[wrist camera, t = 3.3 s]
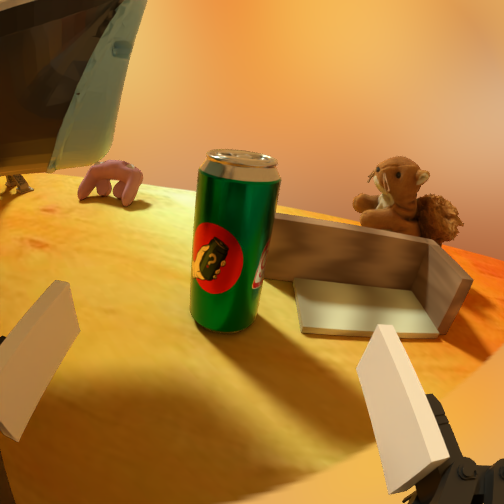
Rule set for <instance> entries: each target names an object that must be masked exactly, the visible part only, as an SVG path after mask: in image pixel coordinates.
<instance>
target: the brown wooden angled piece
mask: <svg viewBox="0 0 504 504" xmlns="http://www.w3.org/2000/svg"><path fill="white" fill-rule="evenodd" d="M264 278H267V279H275V280H283V281H292V282H293V287H294V293H295V299H296V305H297V310H298V316H299V322H300V328H301V332H302V333H314V334H327V335H343V336H361V337H372V335H373V333H374V331H375V329H376V326H377V324H383V325H393V327H394V329H395V331H396V333H397V335H398V337H399V338H437V337H438V335H446V333H447V331H448V330H449V328H450V326H451V324H452V322H453V321H454V319H455V317H456V315H457V313H458V311H459V309H460V307H461V305H462V303H463V301H464V299H465V297H466V295H467V293H468V291H469V289H470V287H471V285H472V283H473V281H474V280H473V279H472V278H471V277H470V276H469V275H468V274H467V273H466V272H465V271H464V270H463V269H462V268H461V267H460V265H459V264H458V263H457V262H456V261H455V260H453V259H452V258H451V257H450V256H449V255H448V254H447V253H446V252H445V251H444V250H443V249H442V248H441V247H440V246H439V245H438V244H437V243H436V242H435V241H434V240H432V239H427V238H422V237H417V236H411V235H406V234H401V233H396V232H390V231H385V230H379V229H374V228H368V227H363V226H357V225H351V224H345V223H339V222H333V221H327V220H321V219H314V218H308V217H301V216H295V215H288V214H281V213H275V219H274V224H273V230H272V235H271V241H270V246H269V252H268V257H267V263H266V268H265V274H264Z"/></svg>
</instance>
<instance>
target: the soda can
mask: <svg viewBox="0 0 504 504" xmlns="http://www.w3.org/2000/svg"><path fill="white" fill-rule="evenodd" d="M206 157H207V158H206V160H205V161H204V162H203V164H202V165H201V166H200V167H199V170H198V179H197V190H196V202H195V216H194V230H193V246H192V265H191V287H190V313H191V315H192V317H193V318H194V319H195V320H196V321H197V322H198V323H199V324H200V325H201V326H203V327H204V328H206V329H207V330H210V331H212V332H216V333H222V334H229V333H235V332H238V331H241V330H243V329H245V328H247V327H248V326H250V325H251V324H252V323H253V322H254V321H255V319H256V316H257V311H258V306H259V300H260V295H261V290H262V284H263V279H264V274H265V268H266V263H267V257H268V252H269V246H270V241H271V235H272V230H273V224H274V219H275V213H276V207H277V202H278V196H279V190H280V185H281V177H280V175H279V173H278V170H277V168H276V166H277V164H278V161H277V160H276V159H275V158H273V157H270V156H267V155H264V154H260V153H255V152H249V151H242V150H232V149H216V150H210V151H207V153H206Z"/></svg>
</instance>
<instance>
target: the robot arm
mask: <svg viewBox="0 0 504 504" xmlns="http://www.w3.org/2000/svg"><path fill="white" fill-rule="evenodd" d="M146 3H147V0H0V176H6V175H17V174H29V173H43V172H46V173H53V172H55V170H59V169H66V168H74V167H82V166H89V165H92V164H94V163H96V162H98V161H99V160H101V159H102V158H103V157H104V156H105V155H106V154H107V153H108V151H109V150H110V148H111V146H112V142H113V137H114V132H115V125H116V120H117V115H118V110H119V105H120V99H121V94H122V90H123V85H124V81H125V77H126V72H127V67H128V64H129V59H130V55H131V52H132V49H133V45H134V41H135V38H136V34H137V31H138V28H139V25H140V22H141V19H142V16H143V13H144V10H145V6H146ZM79 332H80V328H79V325H78V321H77V316H76V312H75V308H74V304H73V299H72V294H71V289H70V284H69V283H68V282H63V281H59V280H55V281H54V282H53V283H52V284H51V285H50V286H49V287H48V289H47V290H46V291H45V292H44V293H43V294H42V295H41V296H40V298H39V299H38V300H37V301H36V302H35V303H34V304H33V306H32V307H31V308H30V309H29V310H28V311H27V313H26V314H25V315H24V316H23V317H22V319H21V320H20V321H19V322H18V323H17V325H16V326H15V327H14V328H13V330H12V331H11V332H10V333H9V335H8V336H7V337H4V336H1V337H0V431H1V432H2V433H3V434H4V435H6V436H7V437H9V438H11V439H13V440H15V441H16V442H19V440H20V438H21V436H22V434H23V432H24V430H25V428H26V426H27V424H28V422H29V420H30V418H31V416H32V414H33V412H34V410H35V408H36V406H37V404H38V402H39V400H40V399H41V397H42V395H43V393H44V391H45V389H46V388H47V386H48V384H49V382H50V380H51V379H52V377H53V375H54V373H55V372H56V370H57V368H58V367H59V365H60V363H61V362H62V360H63V358H64V356H65V355H66V353H67V352H68V350H69V348H70V347H71V345H72V343H73V342H74V340H75V339H76V337H77V335H78V334H79ZM356 370H357V373H358V377H359V380H360V384H361V387H362V390H363V394H364V397H365V401H366V405H367V408H368V412H369V416H370V419H371V423H372V427H373V431H374V434H375V438H376V442H377V446H378V450H379V454H380V458H381V462H382V467H383V471H384V475H385V480H386V484H387V489H388V494H395V493H399V492H404V491H407V490H408V489H410V488H411V487H412V486H414V485H415V486H416V491H415V492H413V493H412V494H410V495H409V496H407V497H406V498H404V500H403V501H402V502H403V503H405V502H406V501H408V500H409V499H410V500H409V503H408V504H483V503H484V504H504V459H500V460H499V461H497V462H496V463H495V464H493V465H492V466H481V465H476V463H475V462H474V461H473V460H471V459H470V458H467V457H463V456H462V453H461V451H460V449H459V446H458V443H457V441H456V438H455V436H454V433H453V431H452V429H451V426H450V424H448V423H449V421H448V419H447V417H446V416H445V412H444V410H443V407H442V405H441V403H440V402H439V401H438V400H437V398H436V397H435V396H434V395H433V394H425V393H424V391H423V388H422V386H421V384H420V381H419V379H418V377H417V375H416V373H415V370H414V368H413V366H412V364H411V362H410V360H409V357H408V355H407V353H406V351H405V349H404V347H403V345H402V343H401V341H400V339H399V337H398V335H397V333H396V331H395V329H394V327H393V325H383V324H377V326H376V329H375V331H374V333H373V335H372V337H371V339H370V341H369V343H368V346H367V348H366V350H365V352H364V354H363V356H362V358H361V360H360V362H359V364H358V366H357V367H356ZM0 504H16V503H15V500H14V497H13V494H12V491H11V488H10V485H9V482H8V478H7V475H6V471H5V468H4V464H3V460H2V456H1V451H0Z"/></svg>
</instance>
